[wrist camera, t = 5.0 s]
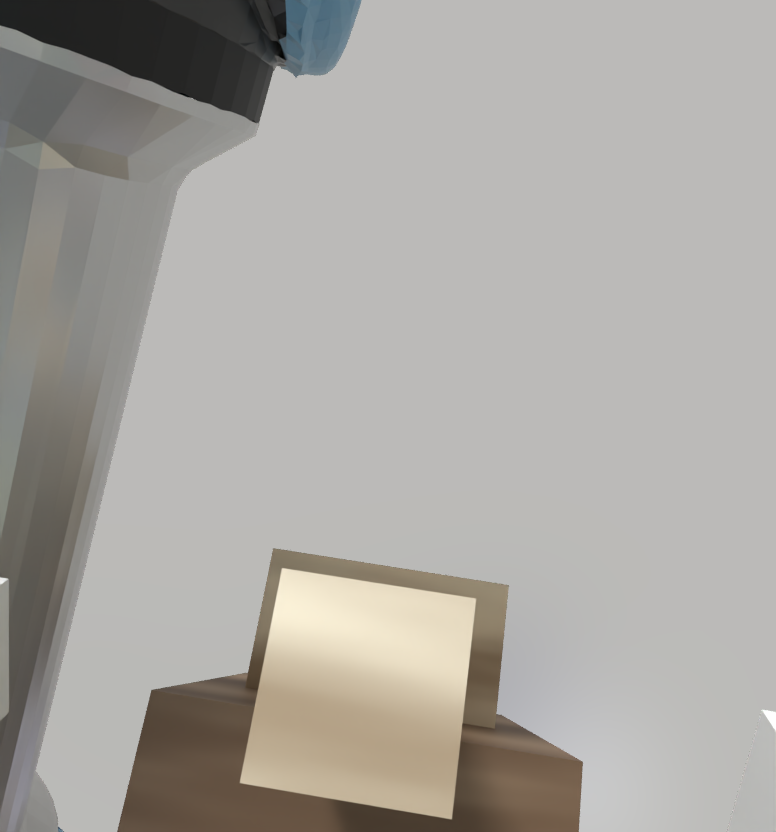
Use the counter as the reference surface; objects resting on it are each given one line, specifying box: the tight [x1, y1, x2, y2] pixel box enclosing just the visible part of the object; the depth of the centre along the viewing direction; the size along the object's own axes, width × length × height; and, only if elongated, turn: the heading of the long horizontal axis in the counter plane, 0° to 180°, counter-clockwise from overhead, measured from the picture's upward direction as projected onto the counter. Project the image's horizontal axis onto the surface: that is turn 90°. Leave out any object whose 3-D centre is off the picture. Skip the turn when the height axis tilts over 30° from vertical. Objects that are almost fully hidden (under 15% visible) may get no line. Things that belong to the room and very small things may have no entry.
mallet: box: [240, 549, 509, 819], centre depth 21 cm, size 21×9×5 cm, turn 0°
